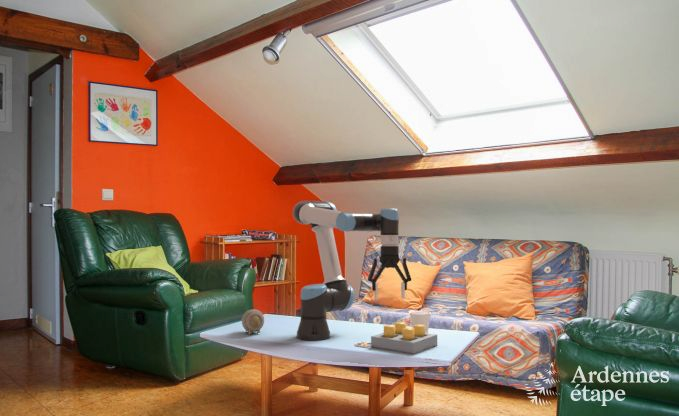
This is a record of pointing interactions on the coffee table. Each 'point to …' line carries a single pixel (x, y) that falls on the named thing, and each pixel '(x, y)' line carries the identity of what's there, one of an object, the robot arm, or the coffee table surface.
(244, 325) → the toy sheep
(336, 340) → the coffee table surface
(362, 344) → the pattern tile
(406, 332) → the button
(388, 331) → the button
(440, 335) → the coffee table surface
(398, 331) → the button
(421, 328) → the button
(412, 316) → the cup
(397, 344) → the board
